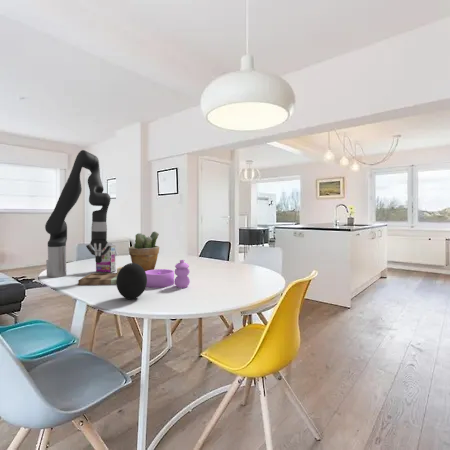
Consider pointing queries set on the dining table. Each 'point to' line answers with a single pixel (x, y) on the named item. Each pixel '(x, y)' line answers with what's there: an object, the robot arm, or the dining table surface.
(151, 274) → the container set
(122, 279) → the decorative egg
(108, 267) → the candy bar box
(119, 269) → the block
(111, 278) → the board
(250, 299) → the dining table surface
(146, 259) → the potted plant
